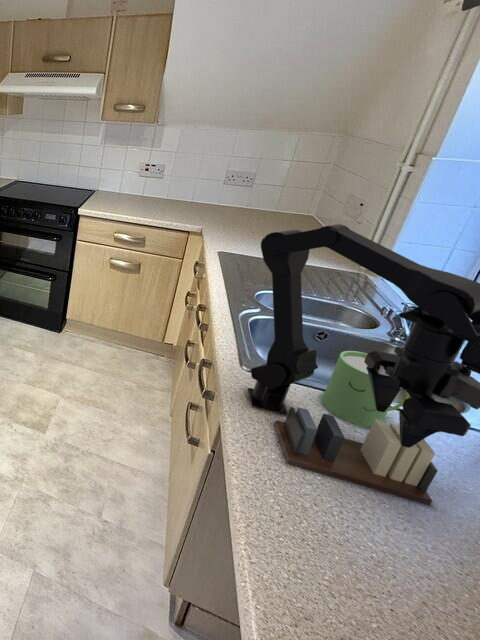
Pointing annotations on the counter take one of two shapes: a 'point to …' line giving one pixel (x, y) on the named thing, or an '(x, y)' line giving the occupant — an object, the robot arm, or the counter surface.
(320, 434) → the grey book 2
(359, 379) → the mug
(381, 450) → the cream book
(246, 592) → the counter surface
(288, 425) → the book rack
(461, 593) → the counter surface
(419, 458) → the cream book
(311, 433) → the grey book
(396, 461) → the cream book
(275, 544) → the counter surface
